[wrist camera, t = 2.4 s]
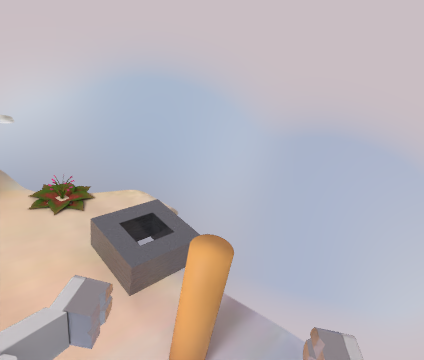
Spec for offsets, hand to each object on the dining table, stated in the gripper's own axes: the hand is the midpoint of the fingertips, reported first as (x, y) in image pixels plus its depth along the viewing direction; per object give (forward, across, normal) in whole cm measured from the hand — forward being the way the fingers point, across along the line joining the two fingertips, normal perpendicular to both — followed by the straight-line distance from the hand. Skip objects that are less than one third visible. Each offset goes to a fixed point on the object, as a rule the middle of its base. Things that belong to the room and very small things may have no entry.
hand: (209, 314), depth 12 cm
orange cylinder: (+12, 0, +23) cm, 26 cm away
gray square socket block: (+27, +10, +23) cm, 37 cm away
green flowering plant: (+37, +29, +23) cm, 53 cm away
